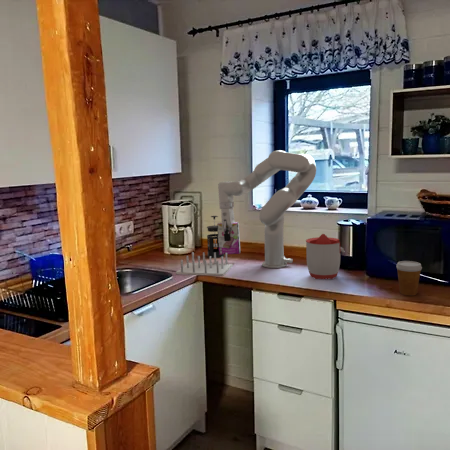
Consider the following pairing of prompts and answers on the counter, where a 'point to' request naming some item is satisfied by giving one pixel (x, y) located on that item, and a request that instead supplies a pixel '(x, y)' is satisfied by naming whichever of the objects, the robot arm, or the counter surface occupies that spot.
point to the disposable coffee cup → (408, 276)
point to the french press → (211, 241)
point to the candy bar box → (234, 243)
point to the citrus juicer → (323, 257)
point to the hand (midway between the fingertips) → (228, 239)
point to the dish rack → (205, 267)
